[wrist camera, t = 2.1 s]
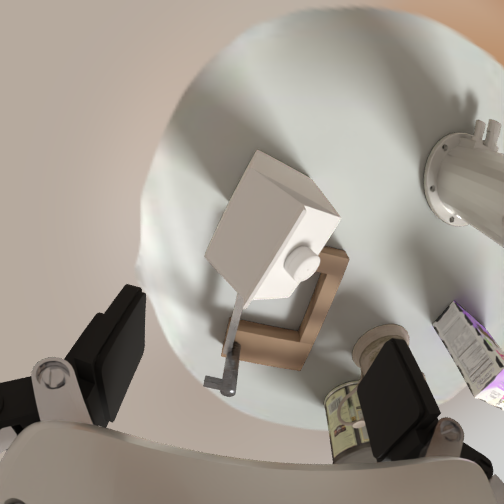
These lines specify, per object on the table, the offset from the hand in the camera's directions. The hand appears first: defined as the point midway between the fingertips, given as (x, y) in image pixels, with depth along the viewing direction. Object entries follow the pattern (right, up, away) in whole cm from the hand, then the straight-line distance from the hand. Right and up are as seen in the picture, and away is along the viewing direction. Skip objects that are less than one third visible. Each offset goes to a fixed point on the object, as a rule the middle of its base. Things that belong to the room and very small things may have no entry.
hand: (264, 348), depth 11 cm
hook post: (-4, -9, +30) cm, 32 cm away
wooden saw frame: (+3, -3, +30) cm, 30 cm away
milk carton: (+2, +11, +24) cm, 26 cm away
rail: (-2, -2, +29) cm, 29 cm away
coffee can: (+18, -23, +38) cm, 48 cm away
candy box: (+36, -9, +31) cm, 48 cm away
